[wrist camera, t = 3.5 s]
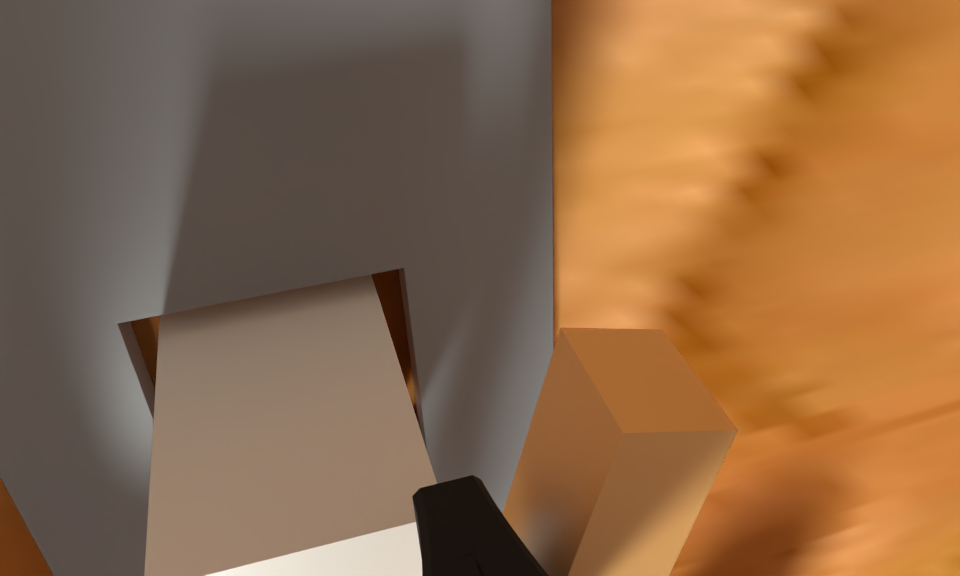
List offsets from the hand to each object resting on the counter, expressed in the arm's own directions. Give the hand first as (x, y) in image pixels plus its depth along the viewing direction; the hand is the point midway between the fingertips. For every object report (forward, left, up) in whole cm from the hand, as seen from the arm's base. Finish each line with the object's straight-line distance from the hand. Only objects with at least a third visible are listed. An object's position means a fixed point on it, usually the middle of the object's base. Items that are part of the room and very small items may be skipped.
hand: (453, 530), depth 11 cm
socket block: (-5, +2, -8) cm, 9 cm away
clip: (-6, 0, -1) cm, 6 cm away
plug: (-3, +2, -8) cm, 9 cm away
